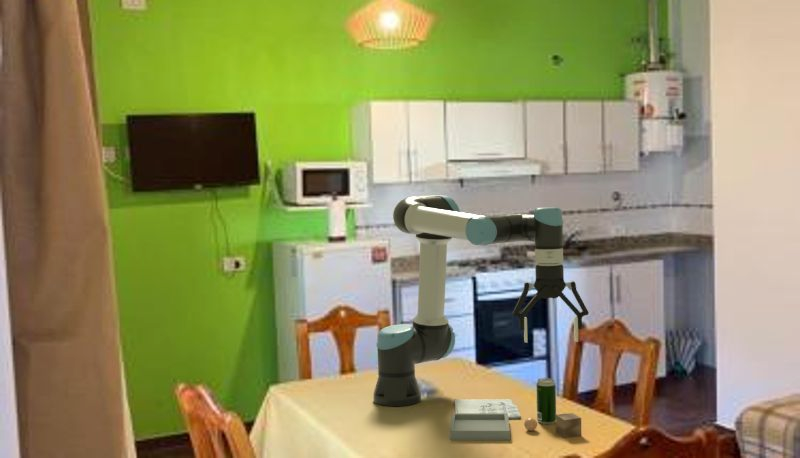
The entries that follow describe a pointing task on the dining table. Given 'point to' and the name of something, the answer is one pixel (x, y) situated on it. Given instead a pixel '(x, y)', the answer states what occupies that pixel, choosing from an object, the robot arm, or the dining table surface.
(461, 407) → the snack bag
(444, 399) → the dining table surface
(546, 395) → the beer can
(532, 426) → the terracotta ball
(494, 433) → the dish
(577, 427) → the walnut block
